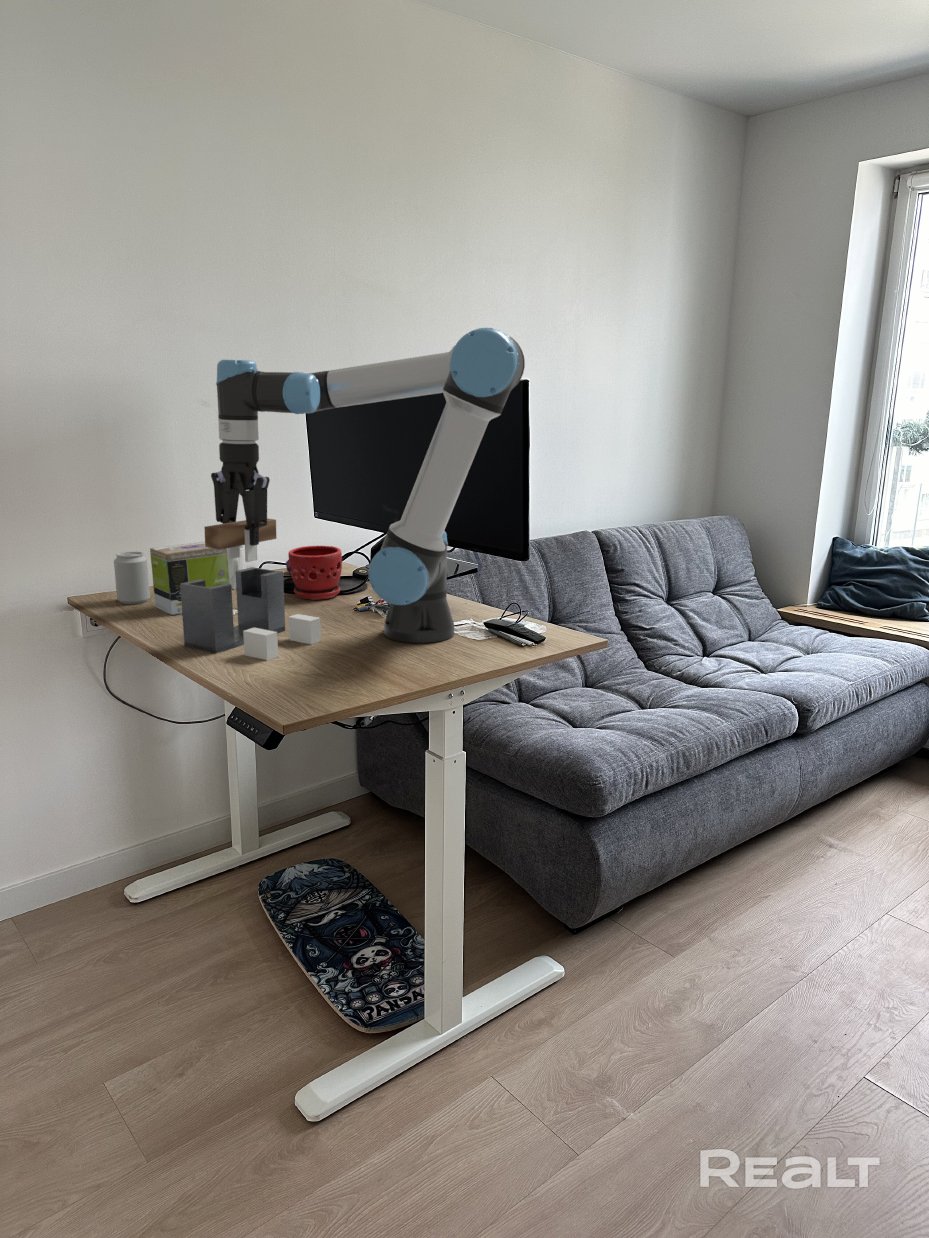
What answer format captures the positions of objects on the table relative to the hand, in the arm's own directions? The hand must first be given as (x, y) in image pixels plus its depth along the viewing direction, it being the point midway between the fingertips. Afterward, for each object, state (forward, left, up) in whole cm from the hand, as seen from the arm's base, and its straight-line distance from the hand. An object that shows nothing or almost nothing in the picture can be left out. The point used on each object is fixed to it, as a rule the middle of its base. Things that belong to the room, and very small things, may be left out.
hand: (242, 559), depth 176 cm
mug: (+38, -34, -17) cm, 54 cm away
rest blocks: (-10, 0, -17) cm, 20 cm away
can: (+47, -10, -17) cm, 51 cm away
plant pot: (+14, -39, -18) cm, 45 cm away
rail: (0, 0, +3) cm, 3 cm away
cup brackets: (+3, 0, -17) cm, 18 cm away
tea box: (+31, -14, -18) cm, 39 cm away
